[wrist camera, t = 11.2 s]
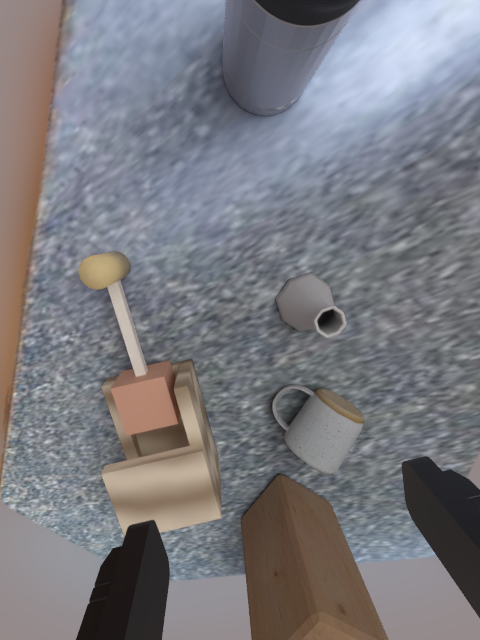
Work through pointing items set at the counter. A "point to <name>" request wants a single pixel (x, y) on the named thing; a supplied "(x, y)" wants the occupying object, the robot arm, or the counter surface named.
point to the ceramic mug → (321, 428)
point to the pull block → (133, 355)
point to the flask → (310, 306)
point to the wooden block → (302, 570)
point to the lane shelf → (167, 464)
